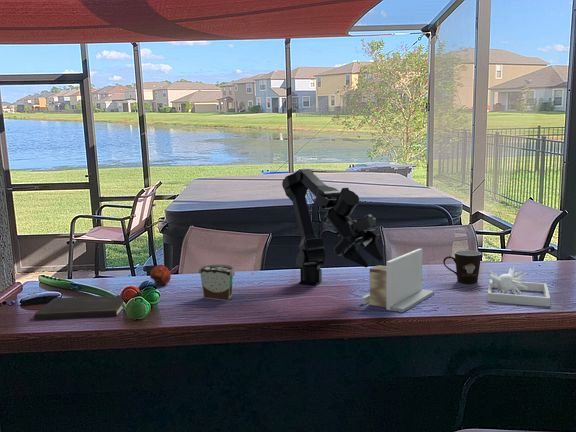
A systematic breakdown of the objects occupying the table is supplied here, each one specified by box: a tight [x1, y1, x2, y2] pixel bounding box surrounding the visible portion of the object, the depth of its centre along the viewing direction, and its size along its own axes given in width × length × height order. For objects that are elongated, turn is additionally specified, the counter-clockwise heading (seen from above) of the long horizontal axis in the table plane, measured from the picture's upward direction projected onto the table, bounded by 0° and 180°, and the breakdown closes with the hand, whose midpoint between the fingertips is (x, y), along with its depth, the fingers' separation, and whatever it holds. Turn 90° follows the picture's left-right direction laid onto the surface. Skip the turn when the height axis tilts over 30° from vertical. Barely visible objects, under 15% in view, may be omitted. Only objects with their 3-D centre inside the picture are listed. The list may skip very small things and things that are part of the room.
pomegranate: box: [149, 264, 172, 286], centre depth 184 cm, size 7×7×10 cm
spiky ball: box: [485, 267, 528, 295], centre depth 163 cm, size 11×12×8 cm
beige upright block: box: [369, 264, 386, 308], centre depth 155 cm, size 6×5×11 cm
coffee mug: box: [442, 249, 482, 285], centre depth 178 cm, size 12×9×10 cm
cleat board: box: [360, 248, 435, 313], centre depth 160 cm, size 14×22×14 cm, turn 142°
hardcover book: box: [33, 294, 124, 321], centre depth 158 cm, size 16×23×2 cm
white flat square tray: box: [487, 279, 551, 308], centre depth 160 cm, size 17×17×2 cm
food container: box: [198, 264, 236, 302], centre depth 167 cm, size 12×6×10 cm, turn 65°
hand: (375, 263), depth 156 cm, fingers open, 9 cm apart
